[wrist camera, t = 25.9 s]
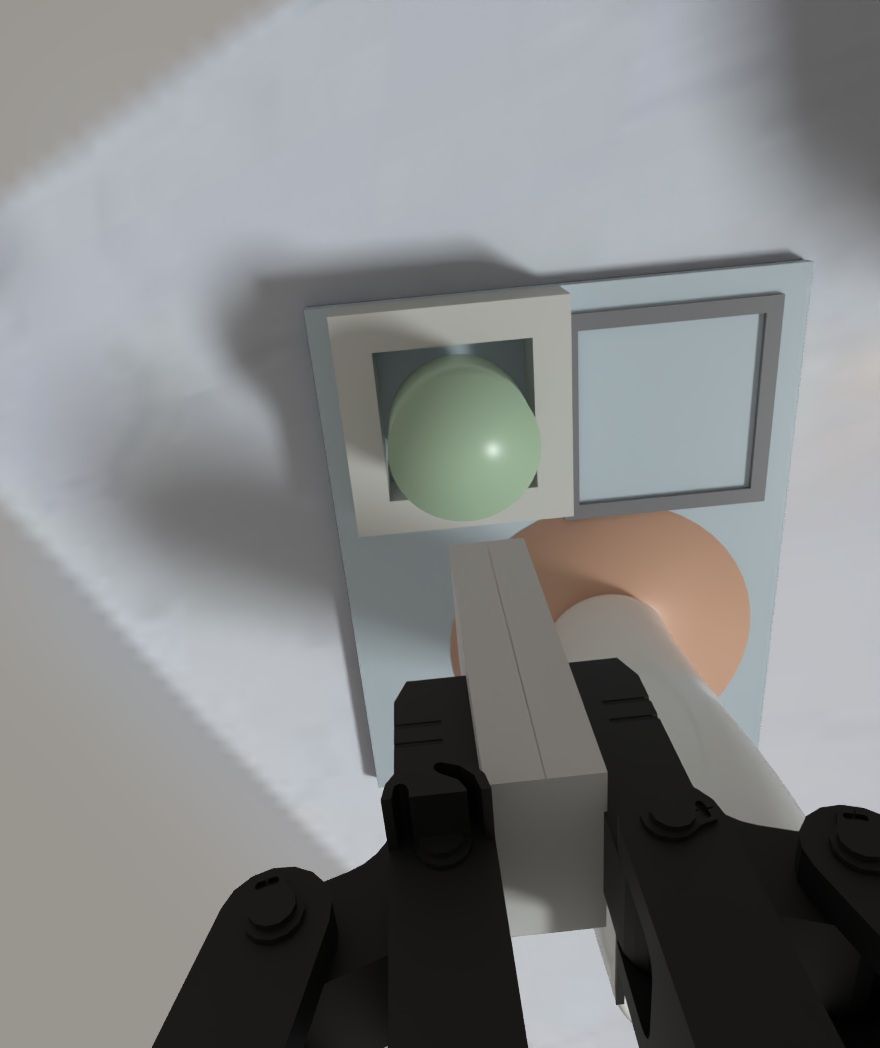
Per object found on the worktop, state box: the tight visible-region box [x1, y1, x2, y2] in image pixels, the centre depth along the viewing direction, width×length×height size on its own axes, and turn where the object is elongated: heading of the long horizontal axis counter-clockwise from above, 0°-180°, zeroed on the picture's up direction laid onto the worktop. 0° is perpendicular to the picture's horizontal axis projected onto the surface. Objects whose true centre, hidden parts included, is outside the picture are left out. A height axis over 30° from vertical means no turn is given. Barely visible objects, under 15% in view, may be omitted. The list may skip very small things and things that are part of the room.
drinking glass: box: [554, 594, 806, 1023], centre depth 26 cm, size 7×7×15 cm
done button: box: [388, 354, 541, 522], centre depth 25 cm, size 5×5×3 cm
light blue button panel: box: [303, 260, 814, 788], centre depth 31 cm, size 18×22×1 cm
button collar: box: [327, 286, 574, 537], centre depth 27 cm, size 8×8×2 cm
